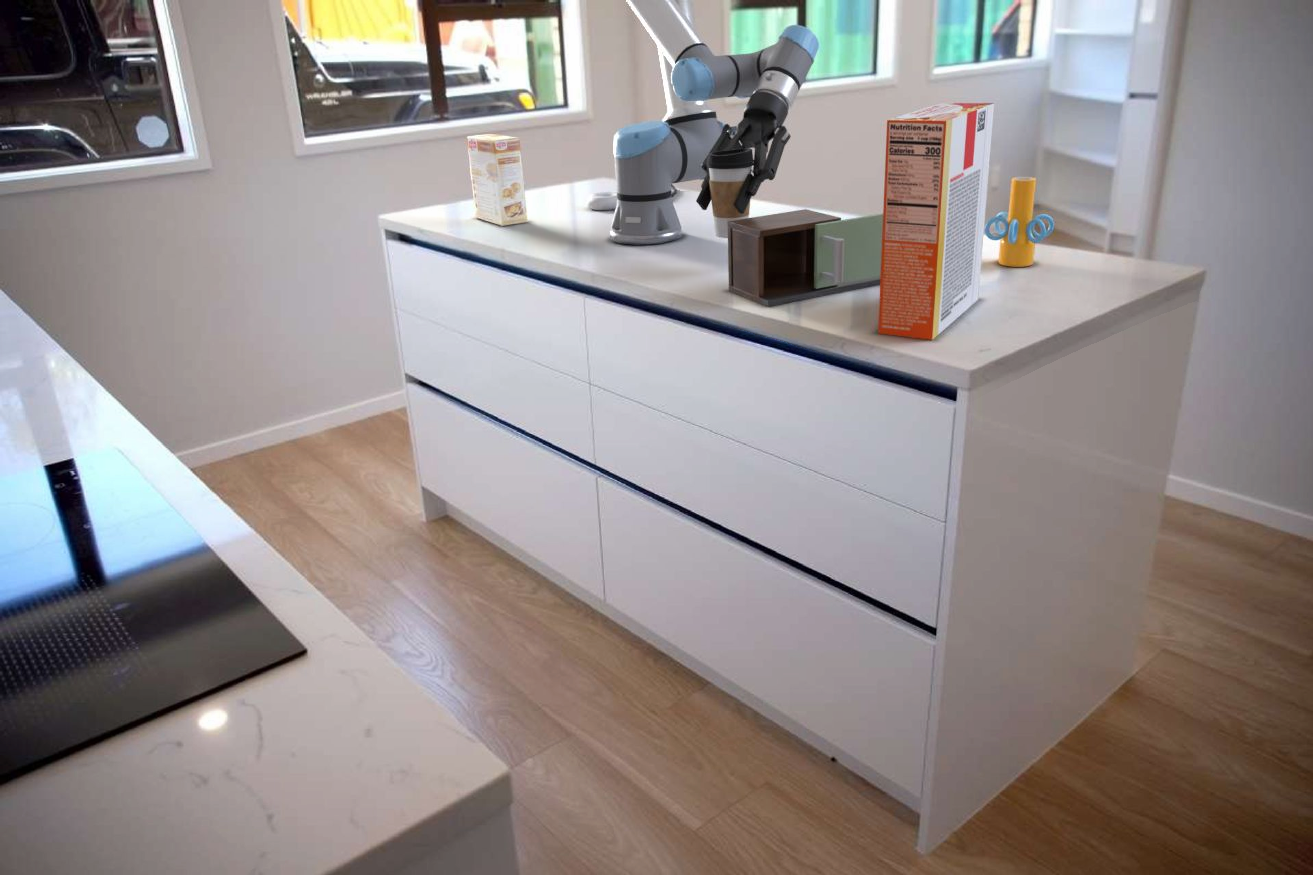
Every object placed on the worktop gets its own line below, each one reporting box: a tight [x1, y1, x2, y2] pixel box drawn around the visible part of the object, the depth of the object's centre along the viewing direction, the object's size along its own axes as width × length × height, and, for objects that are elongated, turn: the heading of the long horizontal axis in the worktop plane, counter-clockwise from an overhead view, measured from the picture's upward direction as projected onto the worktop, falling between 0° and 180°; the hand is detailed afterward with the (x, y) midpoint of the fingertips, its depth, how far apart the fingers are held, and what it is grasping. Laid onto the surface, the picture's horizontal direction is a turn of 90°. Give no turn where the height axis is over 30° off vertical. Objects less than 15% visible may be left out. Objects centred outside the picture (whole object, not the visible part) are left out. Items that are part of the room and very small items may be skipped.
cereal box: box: [877, 102, 995, 341], centre depth 147 cm, size 23×8×30 cm, turn 148°
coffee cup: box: [707, 148, 754, 239], centre depth 179 cm, size 8×8×15 cm
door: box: [814, 213, 883, 289], centre depth 165 cm, size 6×16×11 cm, turn 118°
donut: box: [586, 191, 617, 211], centre depth 249 cm, size 10×4×10 cm
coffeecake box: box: [466, 133, 529, 227], centre depth 237 cm, size 15×7×20 cm, turn 34°
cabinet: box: [727, 208, 881, 308], centre depth 170 cm, size 12×27×12 cm, turn 118°
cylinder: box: [984, 176, 1055, 268], centre depth 177 cm, size 12×10×15 cm
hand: (719, 207), depth 177 cm, fingers closed on coffee cup, 8 cm apart
